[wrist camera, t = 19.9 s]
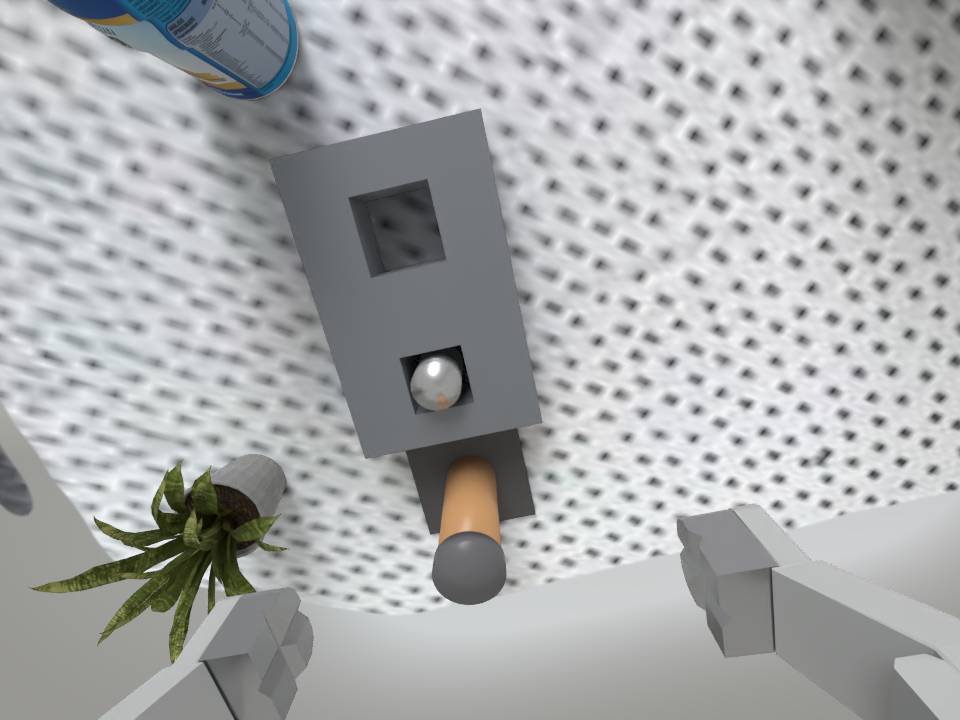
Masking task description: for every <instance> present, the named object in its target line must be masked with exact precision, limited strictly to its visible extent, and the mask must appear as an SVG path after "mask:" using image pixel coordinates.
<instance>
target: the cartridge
mask: <svg viewBox="0 0 960 720" xmlns="http://www.w3.org/2000/svg"><path fill="white" fill-rule="evenodd" d="M432 578H433V582H434V585H435V587H436V589H437V590H438V591H439V593H441V594H442V595H443V596H444V597H445V598H447V599H448V600H450V601H453V602H455V603H458V604H464V605H474V604H480V603H483V602H486V601H488V600H490V599H492V598H493V597H495V596H496V595H497V594H498V593H499V592H500V591H501V589H502V588H503V586H504V583H505V580H506V564H505V556H504V552H503V550H502V548H501V539H500V527H499V514H498V502H497V489H496V477H495V471H494V469H493V467H492V465H491V464H490V463H489V462H488V461H487V460H485V459H484V458H481V457H479V456H473V455H470V456H464V457H461V458H459V459H457V460H455V461H454V462H453V463H452V464H451V465H450V467H449V469H448V471H447V477H446V486H445V494H444V503H443V511H442V520H441V528H440V537H439V545H438V548H437V550H436V552H435V555H434V562H433V570H432Z"/></svg>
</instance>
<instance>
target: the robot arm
mask: <svg viewBox="0 0 960 720" xmlns="http://www.w3.org/2000/svg"><path fill="white" fill-rule="evenodd" d="M677 533H678V537H679V539H680V540H681V542H682V544H683V546H684V549H683V550H682V552H681V553H680V557H681V563H682V569H683V572H684V576H685V580H686V582H687V585H688V588H689V590H690V592H691V595H692V597H693V599H694V601H695V602H696V604H697V605H698V606H699V607H701V608H702V609H704V610H706V616H707V624H708V627H709V629H710V631H711V632H712V634H713V636H714V638H715V640H716V642H717V643H718V645H719V647H720V649H721V651H722V653H723V655H724V657H725V658H728V657H737V656H746V655H755V654H763V653H771V652H776V655H777V656H778V657H780V658H781V659H783V660H784V661H785V662H787V663H788V664H789V665H791V666H792V667H793V668H795V669H796V670H797V671H799V672H800V673H801V674H803V675H804V676H805V677H807V678H808V679H809V680H811V681H812V682H813V683H815V684H816V685H817V686H819V687H820V688H821V689H823V690H824V691H825V692H827V693H828V694H829V695H831V696H832V697H834V698H835V699H836V700H838V701H839V702H840V703H842V704H843V705H844V706H846V707H847V708H848V709H850V710H851V711H852V712H854V713H855V714H856V715H858V716H859V717H861V718H862V719H863V720H960V619H958V618H956V617H953V616H951V615H949V614H947V613H944V612H942V611H940V610H937V609H935V608H932V607H930V606H928V605H925V604H923V603H921V602H918V601H916V600H914V599H911V598H909V597H907V596H904V595H902V594H900V593H897V592H895V591H893V590H890V589H888V588H885V587H883V586H881V585H878V584H876V583H874V582H871V581H869V580H867V579H864V578H862V577H860V576H857V575H855V574H852V573H850V572H848V571H845V570H843V569H841V568H838V567H836V566H834V565H832V564H829V563H827V562H824V561H822V560H819V561H812V560H811V559H810V558H809V557H808V556H807V555H806V554H805V553H804V552H803V551H802V550H801V549H800V548H799V546H798V545H797V544H796V543H795V542H794V541H793V540H792V539H791V538H790V537H789V536H788V535H787V534H786V533H785V532H784V531H783V530H782V529H781V527H780V526H779V525H778V524H777V523H776V522H775V521H774V520H773V519H772V518H771V517H770V516H769V515H768V514H767V513H766V512H765V511H764V510H763V509H762V507H761V506H759V505H757V504H755V503H754V504H749V505H744V506H739V507H734V508H729V509H728V510H722V511H717V512H711V513H706V514H700V515H695V516H689V517H684V518H678V519H677ZM300 602H301V600H300V598H299V596H298V594H297V592H296V590H295V589H293V588H289V587H287V588H281V589H274V590H267V591H261V592H254V593H248V594H245V595H237V596H231V597H225V598H224V599H222V600H220V601H218V602H217V604H216V605H215V606H214V608H213V609H212V611H211V612H210V613H209V615H208V616H207V618H206V619H205V620H204V622H203V623H202V625H201V626H200V627H199V629H198V630H197V632H196V633H195V634H194V636H193V637H192V638H191V640H190V641H189V643H188V644H187V645H186V647H185V648H184V650H183V651H182V652H181V654H180V655H179V657H178V658H177V659H176V661H175V662H174V664H173V665H172V667H168V668H164V669H162V670H161V671H160V672H158V673H157V674H156V675H155V676H153V677H152V678H151V679H149V680H148V681H147V682H145V683H144V684H143V685H142V686H140V687H139V688H138V689H136V690H135V691H134V692H133V693H132V694H130V695H129V696H128V697H126V698H125V699H124V700H123V701H121V702H120V703H119V704H117V705H116V706H115V707H113V708H112V709H111V710H109V711H108V712H107V713H106V714H104V715H103V716H102V717H100V718H99V719H98V720H285V718H286V716H287V714H288V711H289V709H290V706H291V704H292V701H293V699H294V697H295V694H296V692H297V685H296V681H295V679H296V678H297V677H298V676H299V674H300V673H301V672H302V671H303V670H304V669H305V668H306V667H307V665H308V662H309V659H310V657H311V654H312V647H313V631H312V626H311V623H310V621H309V619H308V617H307V616H305V615H304V614H302V613H301V612H299V611H298V608H299V605H300Z"/></svg>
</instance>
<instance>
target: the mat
mask: <svg viewBox="0 0 960 720" xmlns="http://www.w3.org/2000/svg"><path fill="white" fill-rule="evenodd" d="M406 453H407V456H408V460H409V463H410V466H411V470H412V473H413V477H414V480H415V483H416V487H417V490H418V494H419V497H420V500H421V504H422V507H423V511H424V514H425V518H426V521H427V524H428V528H429V531H430V535H431V534H436V533H440V528H441V520H442V511H443V503H444V494H445V486H446V477H447V471H448V469H449V467H450V465H451V464H452V463H453V462H454V461H455V460H457V459H459V458H461V457H464V456H470V455H473V456H479V457H481V458H484V459H485V460H487V461H488V462H489V463H490V464H491V465H492V467H493V469H494V471H495V477H496V489H497V502H498V514H499V521H503V520H508V519H513V518H518V517H523V516H529V515H534V514H535V510H534V505H533V500H532V496H531V491H530V486H529V482H528V477H527V472H526V468H525V463H524V458H523V454H522V449H521V444H520V440H519V435H518V430H517V428H514V429H509V430H504V431H500V432H495V433H490V434H485V435H480V436H475V437H470V438H465V439H460V440H455V441H451V442H446V443H441V444H436V445H431V446H426V447H421V448H416V449H411V450H407V451H406Z"/></svg>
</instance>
